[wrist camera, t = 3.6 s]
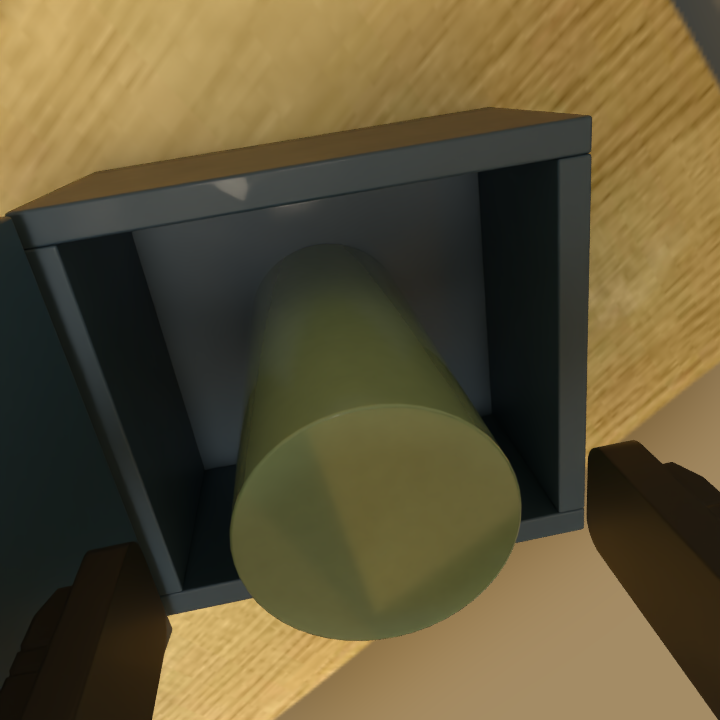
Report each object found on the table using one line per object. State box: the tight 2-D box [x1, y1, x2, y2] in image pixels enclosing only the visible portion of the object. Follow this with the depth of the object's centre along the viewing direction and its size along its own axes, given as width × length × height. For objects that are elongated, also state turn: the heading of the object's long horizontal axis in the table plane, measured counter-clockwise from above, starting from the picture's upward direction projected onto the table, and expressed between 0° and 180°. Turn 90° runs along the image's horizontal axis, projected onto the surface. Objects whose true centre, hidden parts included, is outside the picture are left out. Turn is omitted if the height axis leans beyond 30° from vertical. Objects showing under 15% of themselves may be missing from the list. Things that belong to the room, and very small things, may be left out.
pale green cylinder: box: [229, 244, 521, 641], centre depth 16 cm, size 5×7×11 cm
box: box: [5, 107, 592, 616], centre depth 18 cm, size 13×12×7 cm
